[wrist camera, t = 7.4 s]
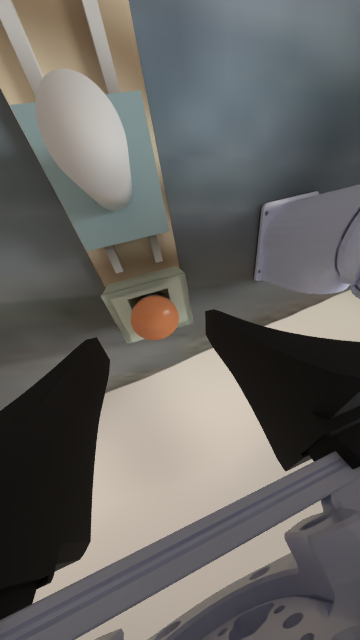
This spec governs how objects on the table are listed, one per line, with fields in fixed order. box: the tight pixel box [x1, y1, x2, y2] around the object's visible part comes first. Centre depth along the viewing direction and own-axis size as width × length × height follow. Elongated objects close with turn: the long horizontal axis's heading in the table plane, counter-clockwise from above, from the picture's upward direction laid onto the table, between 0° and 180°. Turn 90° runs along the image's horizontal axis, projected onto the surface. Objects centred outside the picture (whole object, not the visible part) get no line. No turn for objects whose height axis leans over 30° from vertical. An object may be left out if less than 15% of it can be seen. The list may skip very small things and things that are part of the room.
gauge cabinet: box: [101, 266, 194, 344], centre depth 16 cm, size 6×8×5 cm
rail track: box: [0, 0, 180, 308], centre depth 12 cm, size 28×9×3 cm, turn 12°
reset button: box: [131, 291, 179, 340], centre depth 14 cm, size 4×4×4 cm
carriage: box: [10, 68, 169, 251], centre depth 8 cm, size 7×7×8 cm
